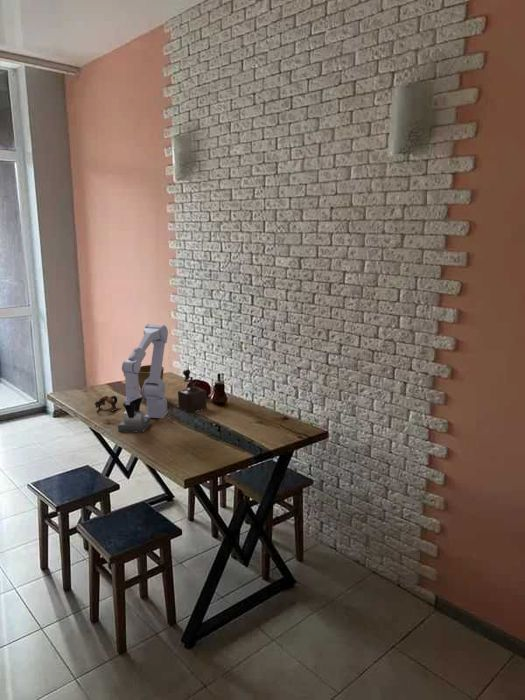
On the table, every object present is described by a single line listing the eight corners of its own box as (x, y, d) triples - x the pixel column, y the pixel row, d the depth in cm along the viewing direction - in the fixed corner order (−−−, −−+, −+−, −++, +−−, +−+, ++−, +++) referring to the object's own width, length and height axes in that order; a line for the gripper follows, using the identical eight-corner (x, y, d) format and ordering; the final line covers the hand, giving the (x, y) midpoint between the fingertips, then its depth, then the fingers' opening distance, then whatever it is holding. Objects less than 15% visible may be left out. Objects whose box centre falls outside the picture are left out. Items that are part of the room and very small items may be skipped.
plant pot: (135, 394, 294) (134, 366, 291) (163, 392, 299) (161, 364, 295) (137, 402, 280) (136, 372, 277) (166, 399, 285) (165, 370, 281)
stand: (150, 423, 250) (149, 417, 249) (142, 432, 239) (141, 426, 239) (127, 422, 251) (126, 416, 250) (118, 431, 240) (118, 425, 240)
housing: (123, 422, 243) (123, 412, 242) (127, 419, 247) (126, 409, 246) (141, 423, 242) (140, 413, 241) (143, 420, 246) (143, 410, 245)
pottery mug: (109, 415, 263) (99, 401, 262) (98, 420, 269) (89, 406, 267) (125, 402, 272) (116, 389, 271) (114, 407, 278) (105, 394, 277)
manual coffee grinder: (208, 407, 272) (207, 373, 268) (191, 413, 264) (190, 377, 260) (188, 401, 282) (187, 368, 278) (171, 406, 274) (170, 372, 270)
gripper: (135, 391, 233) (137, 421, 236) (146, 382, 247) (147, 410, 250) (119, 390, 234) (121, 420, 237) (131, 381, 248) (132, 409, 251)
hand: (133, 415), depth 244 cm, fingers open, 6 cm apart
